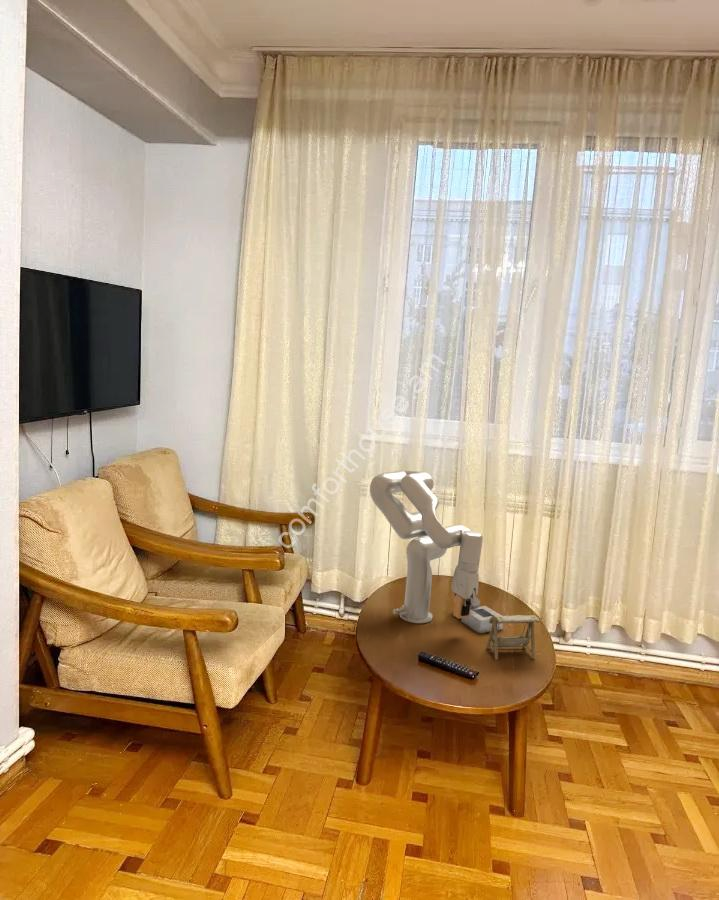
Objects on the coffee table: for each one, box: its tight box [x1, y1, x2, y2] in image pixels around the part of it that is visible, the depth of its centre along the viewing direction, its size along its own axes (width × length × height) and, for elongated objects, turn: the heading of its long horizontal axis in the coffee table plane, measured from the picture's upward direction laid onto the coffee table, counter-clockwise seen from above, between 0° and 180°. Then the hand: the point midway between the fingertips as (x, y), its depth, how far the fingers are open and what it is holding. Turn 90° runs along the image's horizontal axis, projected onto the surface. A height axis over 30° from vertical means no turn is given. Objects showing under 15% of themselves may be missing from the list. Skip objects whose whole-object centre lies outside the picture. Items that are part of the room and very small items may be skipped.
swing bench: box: [485, 614, 541, 661], centre depth 235 cm, size 15×10×15 cm, turn 100°
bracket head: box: [453, 597, 504, 634], centre depth 261 cm, size 11×20×20 cm, turn 28°
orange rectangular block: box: [453, 594, 471, 619], centre depth 247 cm, size 3×5×8 cm, turn 118°
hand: (461, 612), depth 248 cm, fingers closed on orange rectangular block, 3 cm apart
